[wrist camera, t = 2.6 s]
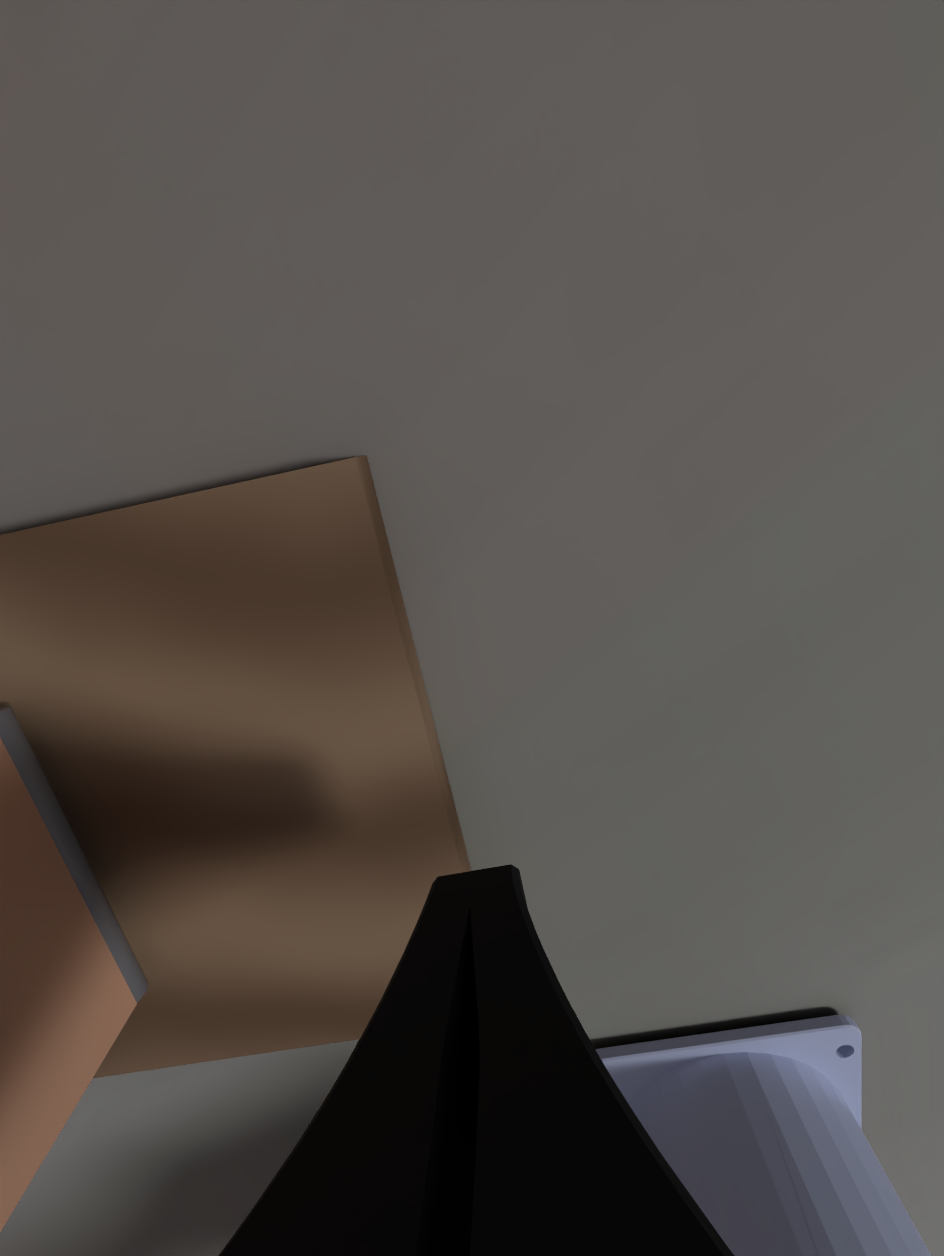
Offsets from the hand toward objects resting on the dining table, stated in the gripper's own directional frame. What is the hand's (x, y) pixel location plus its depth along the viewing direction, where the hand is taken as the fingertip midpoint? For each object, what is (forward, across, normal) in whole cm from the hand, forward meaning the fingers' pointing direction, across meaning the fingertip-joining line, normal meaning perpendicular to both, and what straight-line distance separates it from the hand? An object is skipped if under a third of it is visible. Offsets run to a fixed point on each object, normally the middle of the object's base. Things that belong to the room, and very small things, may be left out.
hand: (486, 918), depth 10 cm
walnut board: (+5, +10, 0) cm, 11 cm away
